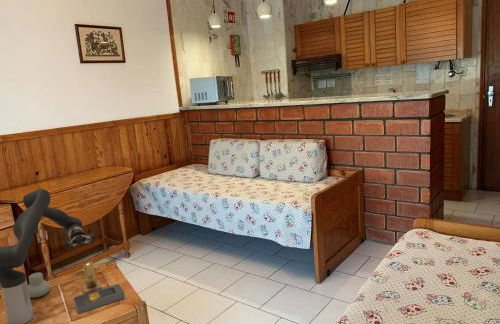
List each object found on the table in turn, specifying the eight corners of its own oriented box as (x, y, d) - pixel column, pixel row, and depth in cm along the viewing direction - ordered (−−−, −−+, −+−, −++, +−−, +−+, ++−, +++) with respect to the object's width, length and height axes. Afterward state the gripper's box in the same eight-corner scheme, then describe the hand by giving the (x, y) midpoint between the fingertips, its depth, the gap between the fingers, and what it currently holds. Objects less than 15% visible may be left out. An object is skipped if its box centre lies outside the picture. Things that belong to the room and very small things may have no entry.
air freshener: (52, 294, 188) (48, 275, 186) (33, 301, 183) (29, 282, 181) (44, 287, 196) (41, 268, 194) (26, 294, 190) (22, 275, 188)
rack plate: (78, 313, 170) (76, 307, 169) (74, 303, 178) (73, 297, 177) (124, 298, 180) (124, 291, 179) (119, 289, 188) (118, 283, 187)
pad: (84, 296, 184) (84, 292, 184) (82, 289, 191) (81, 285, 190) (102, 290, 188) (102, 286, 188) (99, 284, 195) (98, 280, 194)
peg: (87, 289, 186) (83, 266, 184) (86, 285, 190) (82, 262, 187) (97, 286, 188) (93, 263, 186) (95, 283, 192) (91, 260, 190)
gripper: (61, 232, 206) (65, 241, 192) (89, 225, 213) (95, 234, 199) (63, 245, 207) (67, 256, 194) (92, 238, 214) (97, 248, 201)
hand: (81, 244), depth 197 cm, fingers open, 8 cm apart
